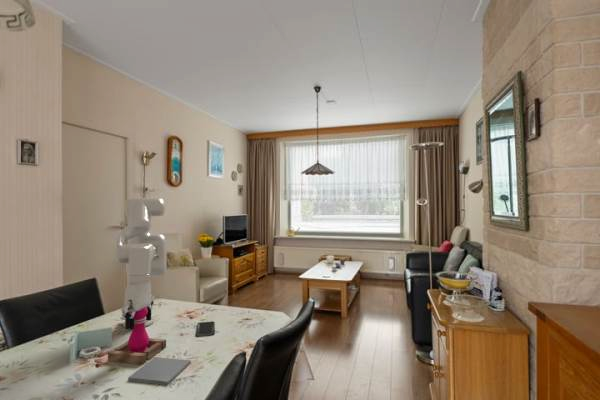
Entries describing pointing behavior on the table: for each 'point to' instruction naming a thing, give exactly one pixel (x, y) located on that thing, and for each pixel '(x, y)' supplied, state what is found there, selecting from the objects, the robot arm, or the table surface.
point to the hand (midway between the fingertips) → (138, 324)
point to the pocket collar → (125, 356)
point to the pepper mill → (139, 332)
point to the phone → (205, 329)
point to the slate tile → (160, 370)
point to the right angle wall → (90, 342)
